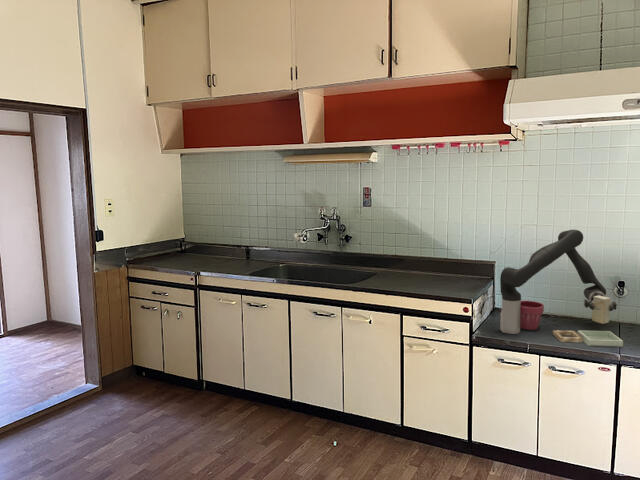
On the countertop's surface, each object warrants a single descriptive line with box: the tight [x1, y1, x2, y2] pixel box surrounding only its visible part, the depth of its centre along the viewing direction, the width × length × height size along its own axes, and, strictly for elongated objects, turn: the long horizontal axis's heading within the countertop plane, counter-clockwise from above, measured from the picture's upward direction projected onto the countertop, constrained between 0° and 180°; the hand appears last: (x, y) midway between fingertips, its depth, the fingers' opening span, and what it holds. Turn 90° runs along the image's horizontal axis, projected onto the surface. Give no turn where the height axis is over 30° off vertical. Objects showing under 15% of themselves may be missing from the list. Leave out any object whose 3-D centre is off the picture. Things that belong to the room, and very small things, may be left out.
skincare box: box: [591, 295, 611, 325], centre depth 249 cm, size 6×4×12 cm
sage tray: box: [577, 330, 624, 348], centre depth 251 cm, size 15×15×3 cm
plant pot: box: [520, 300, 545, 331], centre depth 274 cm, size 14×14×13 cm
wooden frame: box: [552, 329, 583, 343], centre depth 256 cm, size 10×12×2 cm
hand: (601, 308), depth 247 cm, fingers closed on skincare box, 7 cm apart
